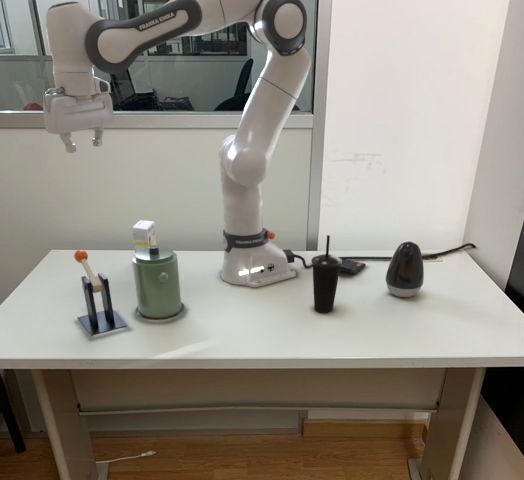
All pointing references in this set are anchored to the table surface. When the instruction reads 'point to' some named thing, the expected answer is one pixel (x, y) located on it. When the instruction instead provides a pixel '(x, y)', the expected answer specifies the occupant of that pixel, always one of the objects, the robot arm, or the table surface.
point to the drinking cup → (325, 280)
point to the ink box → (144, 234)
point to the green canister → (157, 283)
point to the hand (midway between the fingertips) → (85, 149)
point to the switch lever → (88, 270)
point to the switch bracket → (103, 319)
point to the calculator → (351, 266)
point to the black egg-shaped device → (405, 270)
